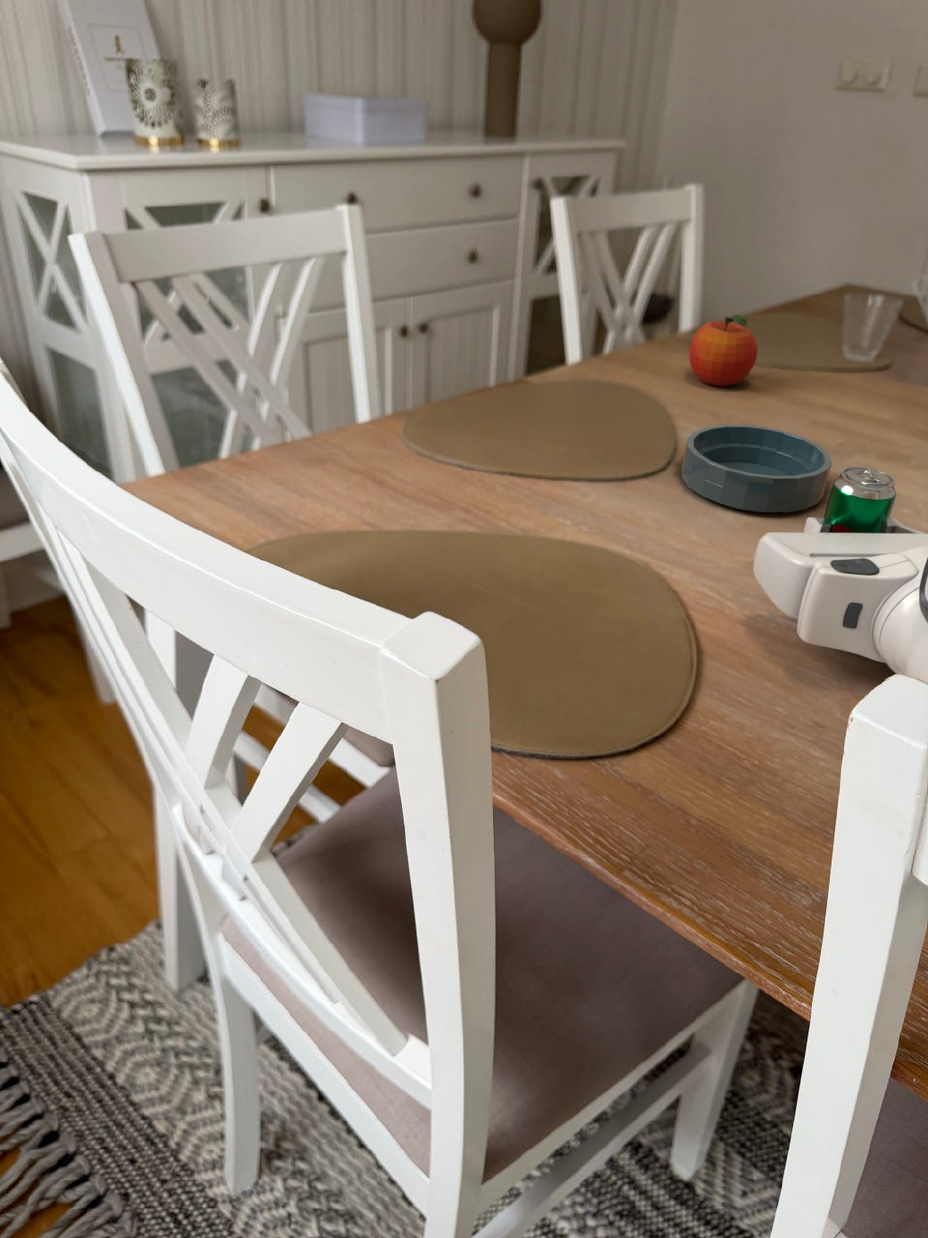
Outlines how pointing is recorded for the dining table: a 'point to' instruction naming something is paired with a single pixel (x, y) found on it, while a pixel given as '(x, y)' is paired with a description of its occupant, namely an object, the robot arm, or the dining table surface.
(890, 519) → the robot arm
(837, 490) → the soda can
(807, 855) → the dining table surface
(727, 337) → the fruit
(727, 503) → the bowl
